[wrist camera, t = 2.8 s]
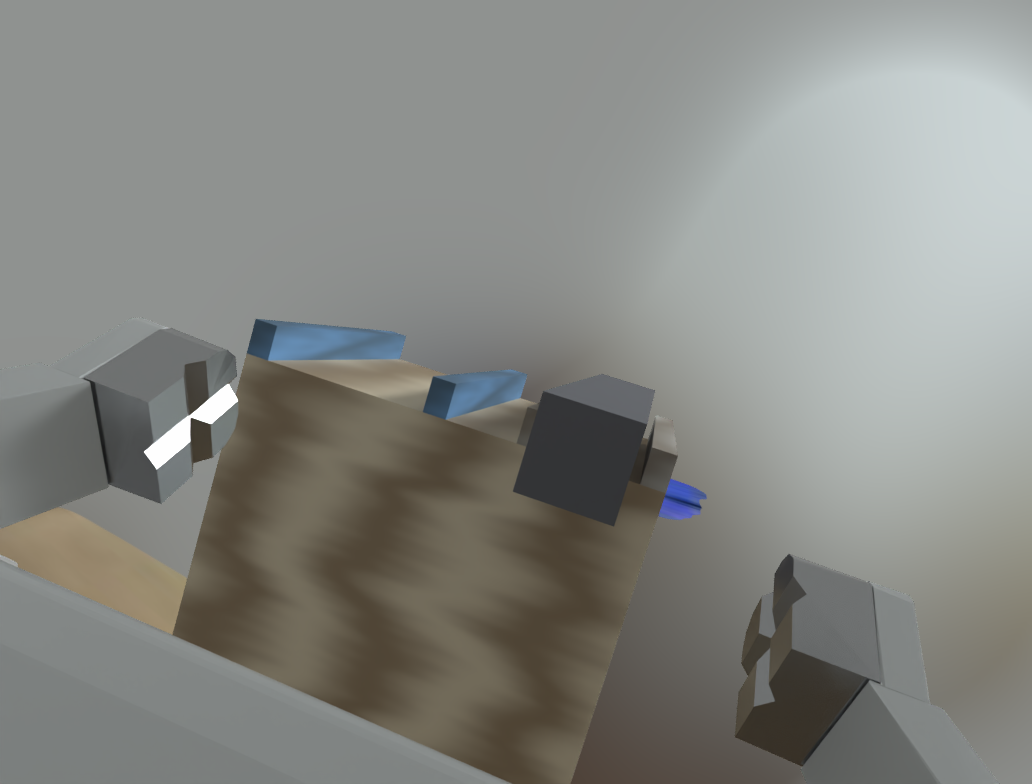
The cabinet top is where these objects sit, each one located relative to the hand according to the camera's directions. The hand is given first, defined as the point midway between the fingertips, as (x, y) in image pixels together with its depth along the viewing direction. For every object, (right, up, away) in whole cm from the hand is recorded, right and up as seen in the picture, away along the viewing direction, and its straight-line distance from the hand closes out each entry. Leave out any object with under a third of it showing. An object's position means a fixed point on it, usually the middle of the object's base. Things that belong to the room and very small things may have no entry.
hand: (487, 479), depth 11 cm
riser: (-8, -24, +30) cm, 39 cm away
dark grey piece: (+4, -2, +21) cm, 21 cm away
